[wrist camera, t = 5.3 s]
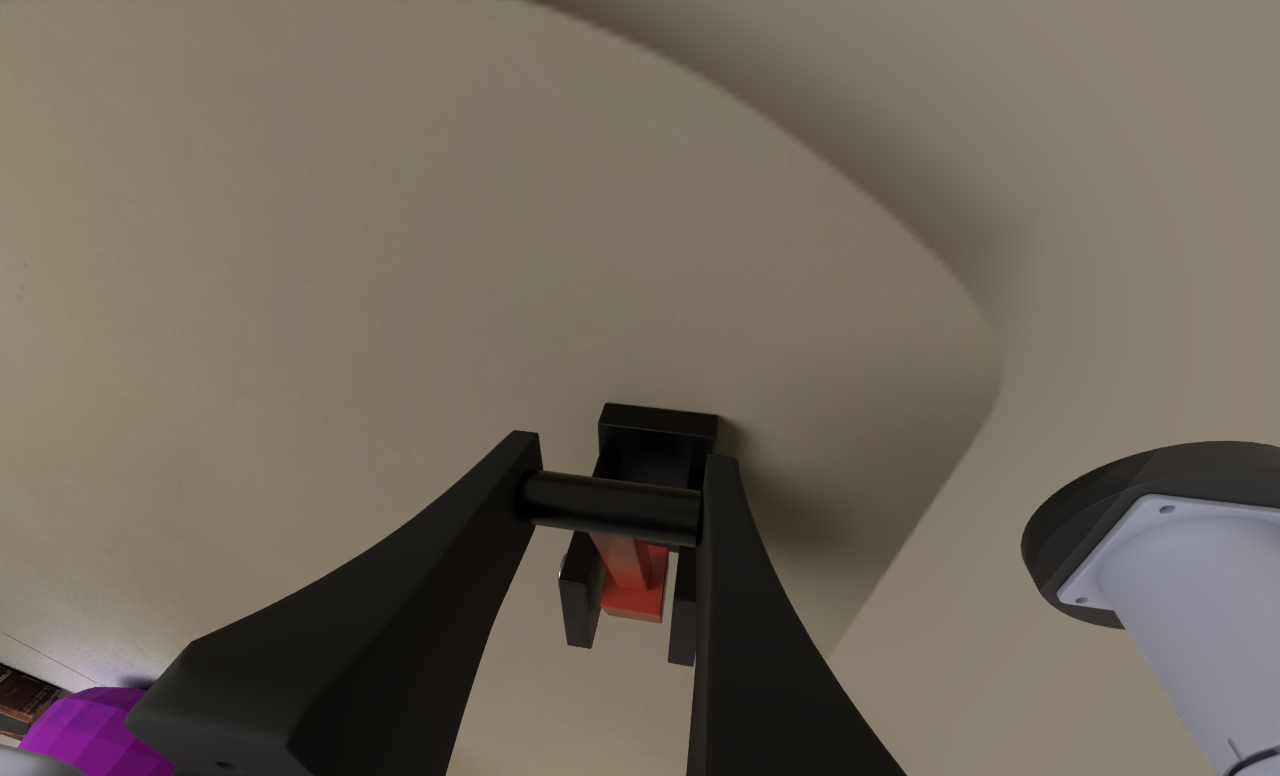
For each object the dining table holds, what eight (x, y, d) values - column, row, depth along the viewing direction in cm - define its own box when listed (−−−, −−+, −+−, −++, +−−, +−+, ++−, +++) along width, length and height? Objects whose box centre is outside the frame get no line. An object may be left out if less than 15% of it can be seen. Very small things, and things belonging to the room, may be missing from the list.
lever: (531, 436, 12) (501, 542, 10) (708, 457, 11) (697, 572, 10) (597, 551, 22) (586, 611, 21) (690, 565, 22) (684, 627, 20)
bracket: (593, 400, 23) (537, 546, 17) (730, 415, 22) (724, 573, 16) (599, 518, 28) (558, 665, 21) (711, 533, 27) (702, 691, 21)
